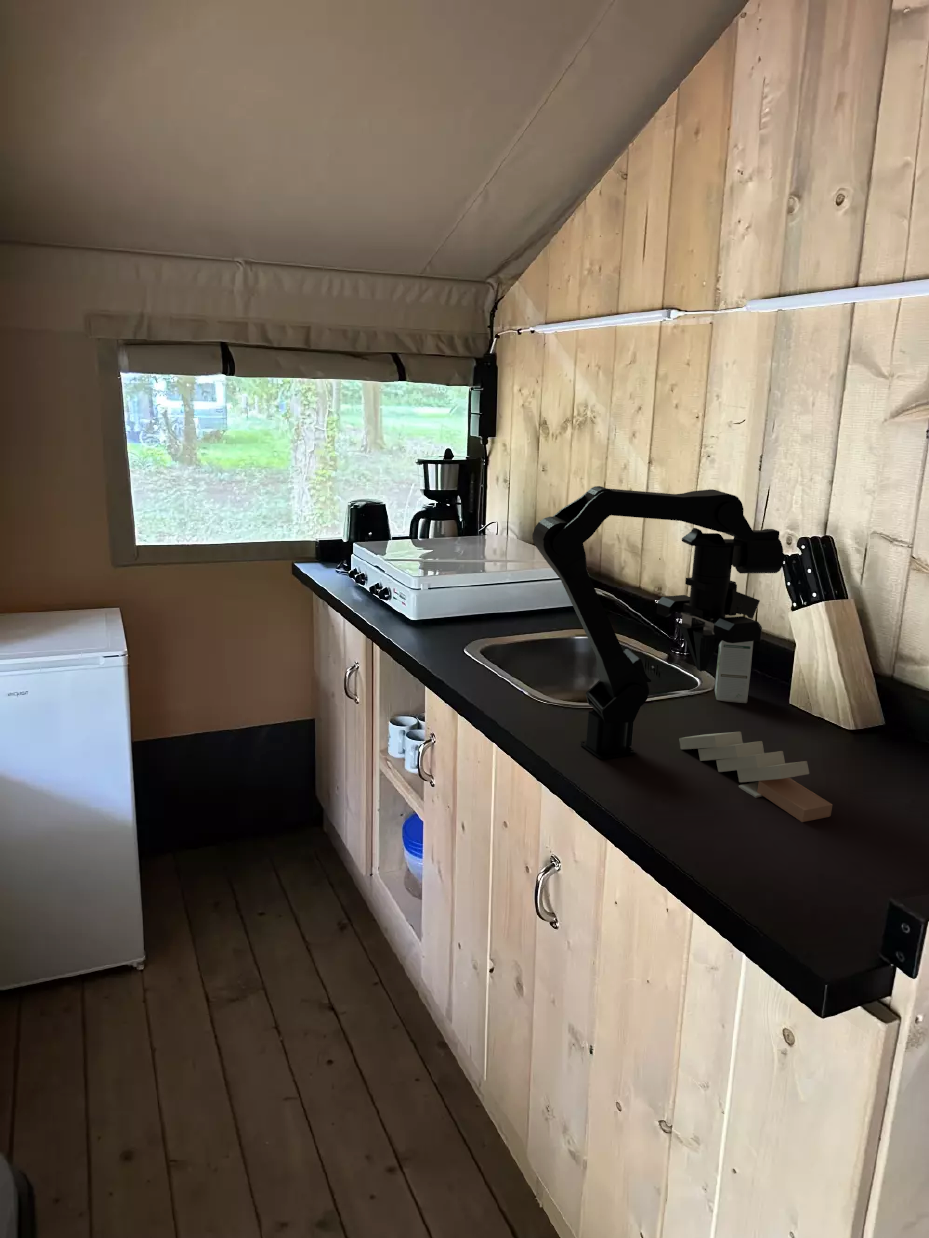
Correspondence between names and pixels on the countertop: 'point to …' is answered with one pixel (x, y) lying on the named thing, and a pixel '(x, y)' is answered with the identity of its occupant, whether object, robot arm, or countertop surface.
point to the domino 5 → (795, 799)
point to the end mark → (751, 789)
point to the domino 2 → (731, 751)
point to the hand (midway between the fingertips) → (701, 670)
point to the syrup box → (733, 671)
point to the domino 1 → (711, 740)
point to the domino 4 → (773, 772)
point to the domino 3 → (750, 761)
